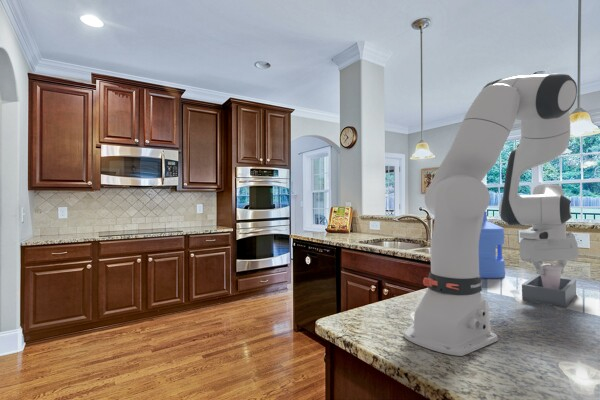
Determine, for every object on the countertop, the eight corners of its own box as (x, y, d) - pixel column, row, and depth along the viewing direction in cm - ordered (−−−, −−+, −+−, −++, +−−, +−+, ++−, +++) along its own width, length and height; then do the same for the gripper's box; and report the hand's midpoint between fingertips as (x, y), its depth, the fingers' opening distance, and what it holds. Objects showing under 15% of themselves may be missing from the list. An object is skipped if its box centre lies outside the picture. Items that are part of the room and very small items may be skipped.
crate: (565, 307, 94) (565, 291, 94) (522, 299, 102) (521, 284, 103) (576, 294, 107) (576, 279, 108) (537, 288, 116) (536, 274, 116)
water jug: (469, 278, 132) (468, 212, 133) (460, 270, 148) (458, 211, 148) (511, 279, 129) (509, 211, 129) (497, 271, 144) (495, 210, 144)
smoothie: (568, 297, 101) (566, 253, 101) (545, 296, 102) (543, 253, 102) (556, 292, 107) (554, 251, 107) (535, 291, 108) (533, 251, 109)
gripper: (564, 231, 110) (565, 270, 110) (515, 233, 106) (516, 273, 106) (584, 232, 104) (585, 274, 104) (532, 234, 100) (533, 278, 100)
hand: (550, 274), depth 105 cm, fingers closed on smoothie, 6 cm apart
